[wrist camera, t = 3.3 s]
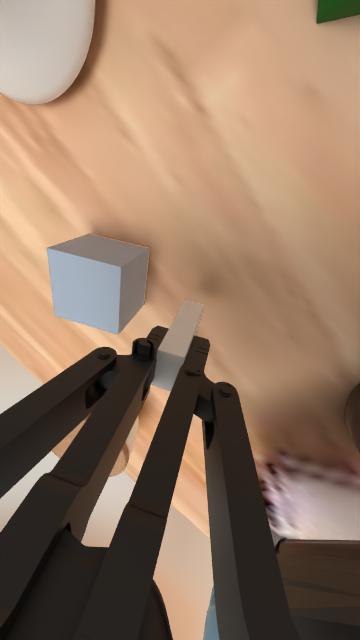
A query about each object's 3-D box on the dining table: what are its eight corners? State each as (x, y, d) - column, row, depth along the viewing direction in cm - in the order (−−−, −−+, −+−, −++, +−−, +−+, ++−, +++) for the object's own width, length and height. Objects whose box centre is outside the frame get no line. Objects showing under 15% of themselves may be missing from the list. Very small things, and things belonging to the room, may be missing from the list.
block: (150, 247, 23) (121, 267, 18) (144, 304, 26) (118, 334, 21) (90, 233, 24) (46, 247, 19) (92, 289, 27) (54, 315, 22)
